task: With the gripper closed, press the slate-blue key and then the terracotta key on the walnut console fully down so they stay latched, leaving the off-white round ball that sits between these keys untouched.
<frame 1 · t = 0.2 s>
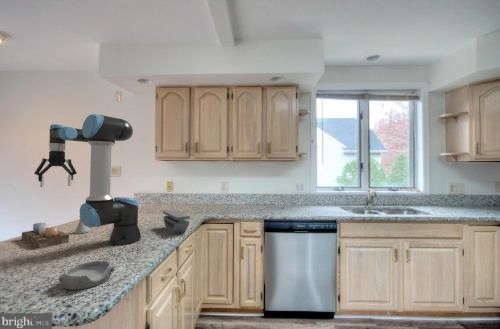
hand: (56, 186, 145), 27 cm above the table, tool pointing down, fingers open, 13 cm apart
off-white round ball: (45, 230, 128), point 5 cm above the table, slide at 0.0 cm
key slate: (39, 228, 132), point 5 cm above the table, slide at 0.0 cm
key terracotta: (51, 232, 123), point 5 cm above the table, slide at 0.0 cm
console: (44, 240, 127), on the table
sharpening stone: (175, 231, 152), on the table
flask: (82, 232, 145), on the table
dish: (86, 282, 84), on the table
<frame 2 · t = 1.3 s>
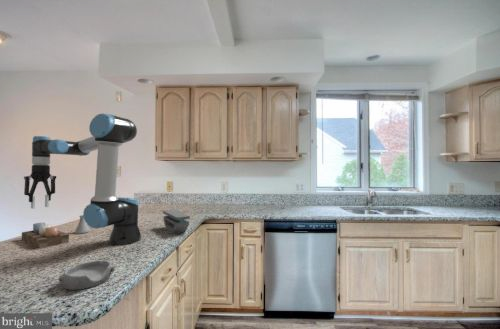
hand: (39, 207, 132), 17 cm above the table, tool pointing down, fingers open, 5 cm apart
nothing on the table moved.
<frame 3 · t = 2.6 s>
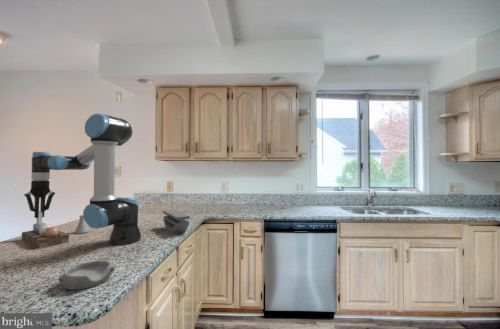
hand: (39, 223, 132), 8 cm above the table, tool pointing down, fingers closed
key slate: (39, 228, 132), point 5 cm above the table, slide at 0.2 cm, touching gripper
everything else where it was.
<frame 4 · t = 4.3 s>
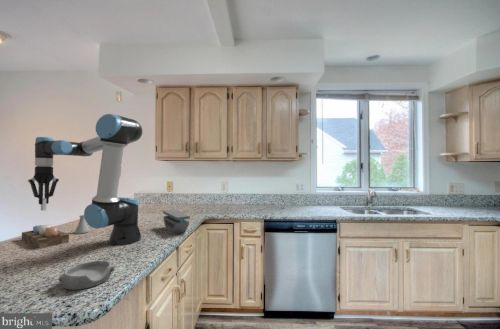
hand: (43, 210, 130), 16 cm above the table, tool pointing down, fingers closed
key slate: (39, 230, 132), point 4 cm above the table, slide at 1.4 cm
everything else where it was.
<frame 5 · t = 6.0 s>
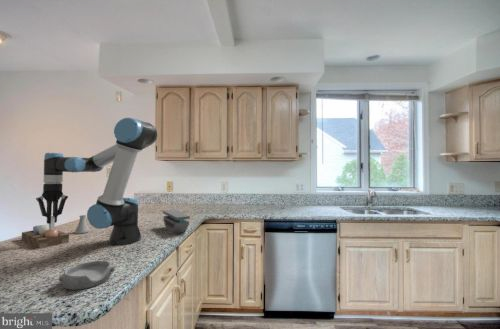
hand: (51, 229, 123), 7 cm above the table, tool pointing down, fingers closed
key terracotta: (51, 235, 123), point 4 cm above the table, slide at 1.1 cm, touching gripper
everything else where it was.
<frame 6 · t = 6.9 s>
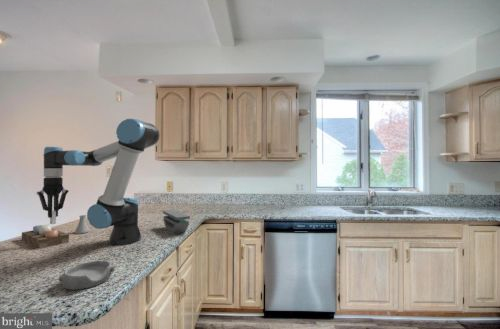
hand: (52, 223, 123), 10 cm above the table, tool pointing down, fingers closed
key terracotta: (51, 235, 123), point 4 cm above the table, slide at 1.5 cm
everything else where it was.
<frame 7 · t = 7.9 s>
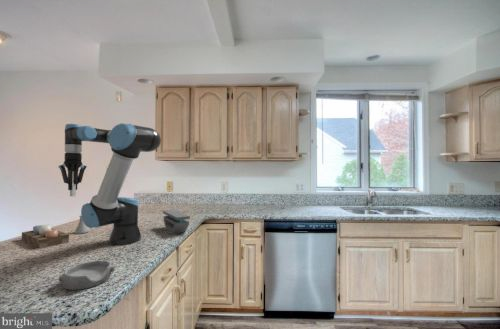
hand: (72, 196, 132), 23 cm above the table, tool pointing down, fingers closed
nothing on the table moved.
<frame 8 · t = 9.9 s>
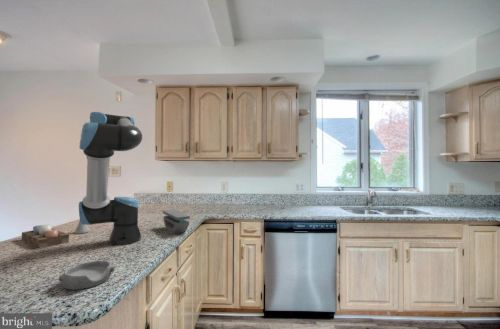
hand: (96, 178, 144), 32 cm above the table, tool pointing down, fingers closed
nothing on the table moved.
at the end: key slate slide at 1.4 cm; key terracotta slide at 1.5 cm; off-white round ball slide at 0.0 cm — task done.
